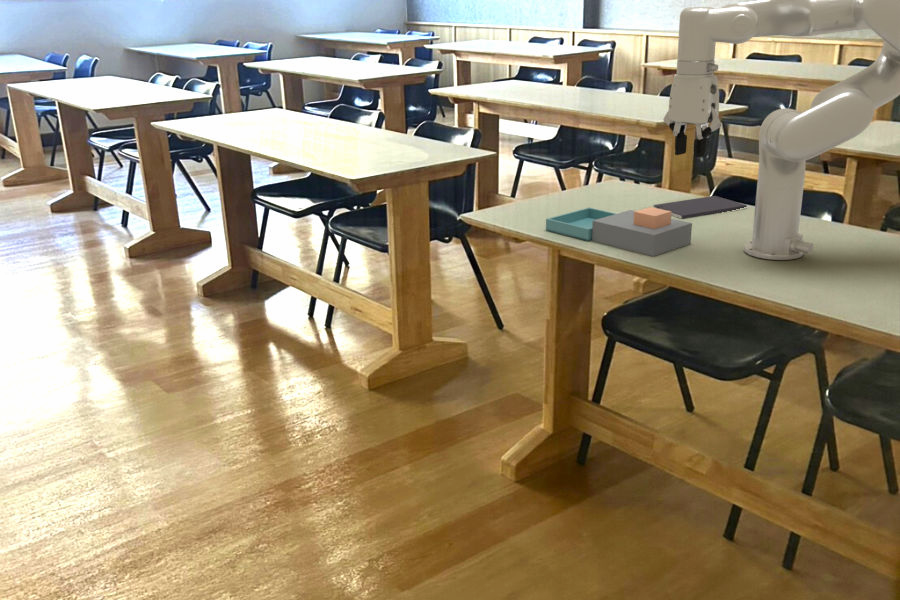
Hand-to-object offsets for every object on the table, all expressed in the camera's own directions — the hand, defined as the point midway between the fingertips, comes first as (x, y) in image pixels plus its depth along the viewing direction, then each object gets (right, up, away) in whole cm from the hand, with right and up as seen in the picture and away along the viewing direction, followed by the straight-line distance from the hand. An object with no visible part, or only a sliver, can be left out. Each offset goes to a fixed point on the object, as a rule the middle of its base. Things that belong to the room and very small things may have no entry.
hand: (689, 154), depth 188 cm
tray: (-17, -14, +28) cm, 36 cm away
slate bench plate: (-7, -18, +16) cm, 25 cm away
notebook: (+15, -8, +45) cm, 48 cm away
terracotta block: (-5, -14, +12) cm, 20 cm away
